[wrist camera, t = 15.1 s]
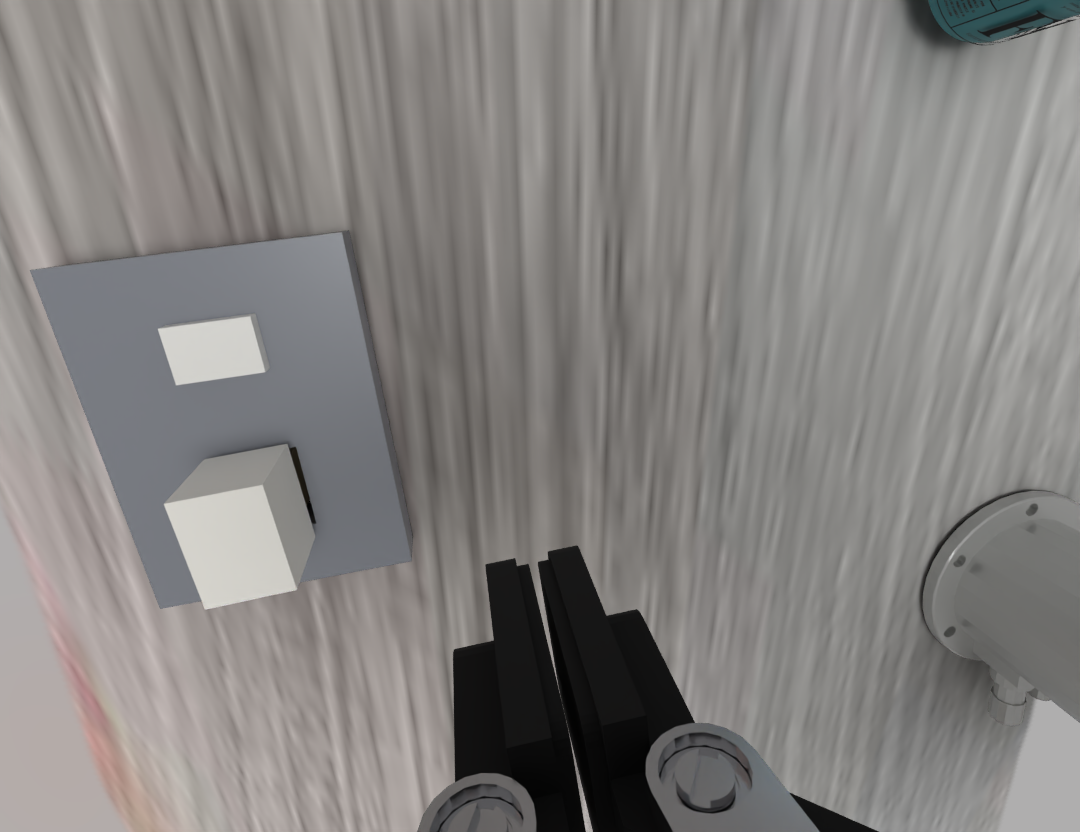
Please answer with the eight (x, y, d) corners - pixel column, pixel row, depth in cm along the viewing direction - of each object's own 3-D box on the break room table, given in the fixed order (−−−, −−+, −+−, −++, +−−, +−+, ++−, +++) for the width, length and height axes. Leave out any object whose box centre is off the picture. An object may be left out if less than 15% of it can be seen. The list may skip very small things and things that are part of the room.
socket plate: (412, 536, 33) (411, 569, 30) (180, 579, 32) (153, 619, 29) (349, 230, 28) (339, 233, 25) (65, 264, 26) (17, 272, 23)
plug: (325, 507, 32) (297, 590, 25) (254, 522, 31) (205, 609, 24) (300, 422, 30) (262, 484, 23) (225, 435, 30) (163, 503, 23)
